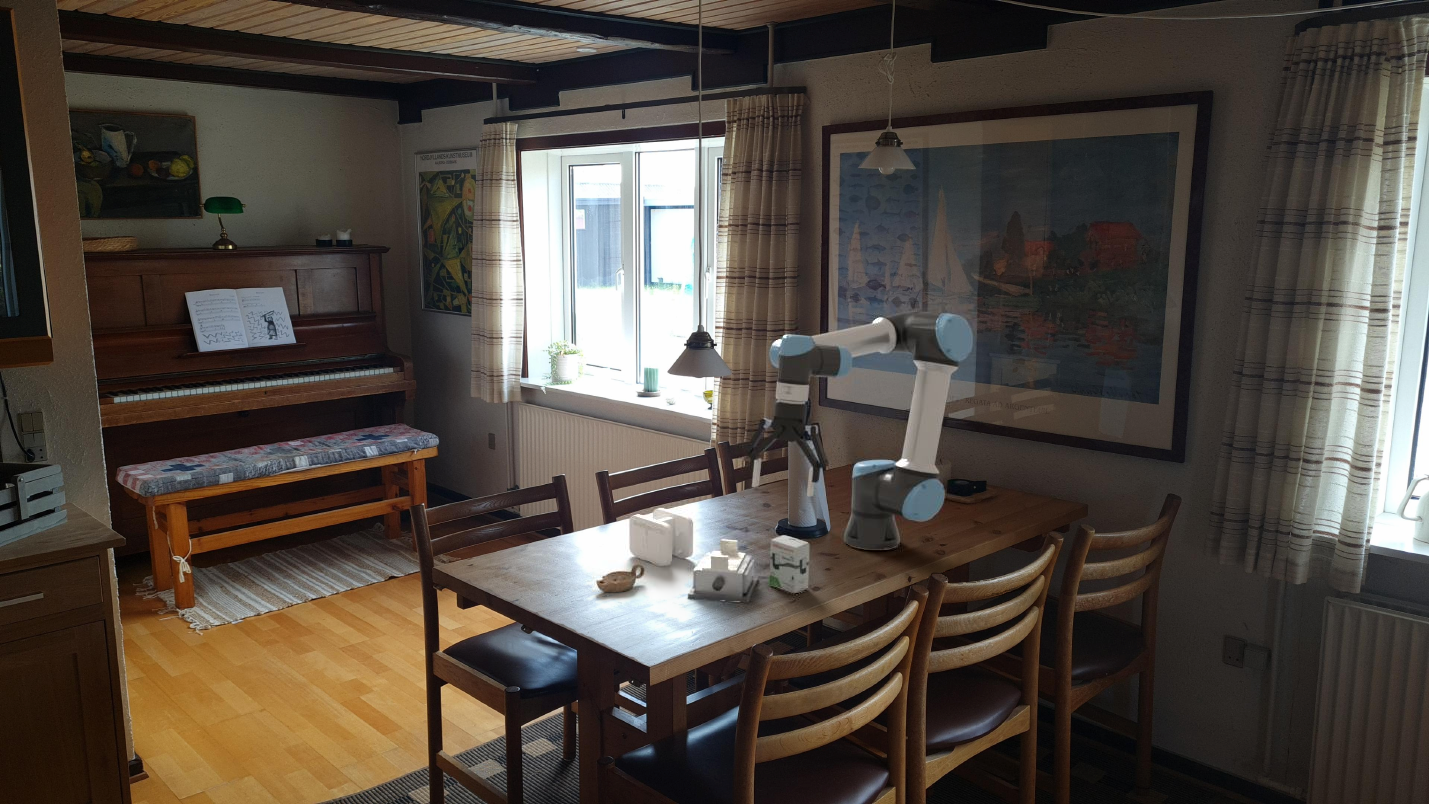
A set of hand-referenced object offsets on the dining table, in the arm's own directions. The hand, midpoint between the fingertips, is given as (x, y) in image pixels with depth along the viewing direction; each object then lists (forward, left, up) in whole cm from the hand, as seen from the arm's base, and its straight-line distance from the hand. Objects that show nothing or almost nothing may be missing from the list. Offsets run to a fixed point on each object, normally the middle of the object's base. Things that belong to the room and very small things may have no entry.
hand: (782, 491), depth 230 cm
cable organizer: (+33, -15, -24) cm, 44 cm away
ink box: (-2, -1, -24) cm, 24 cm away
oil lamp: (+37, +8, -24) cm, 45 cm away
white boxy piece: (+13, +3, -24) cm, 28 cm away
